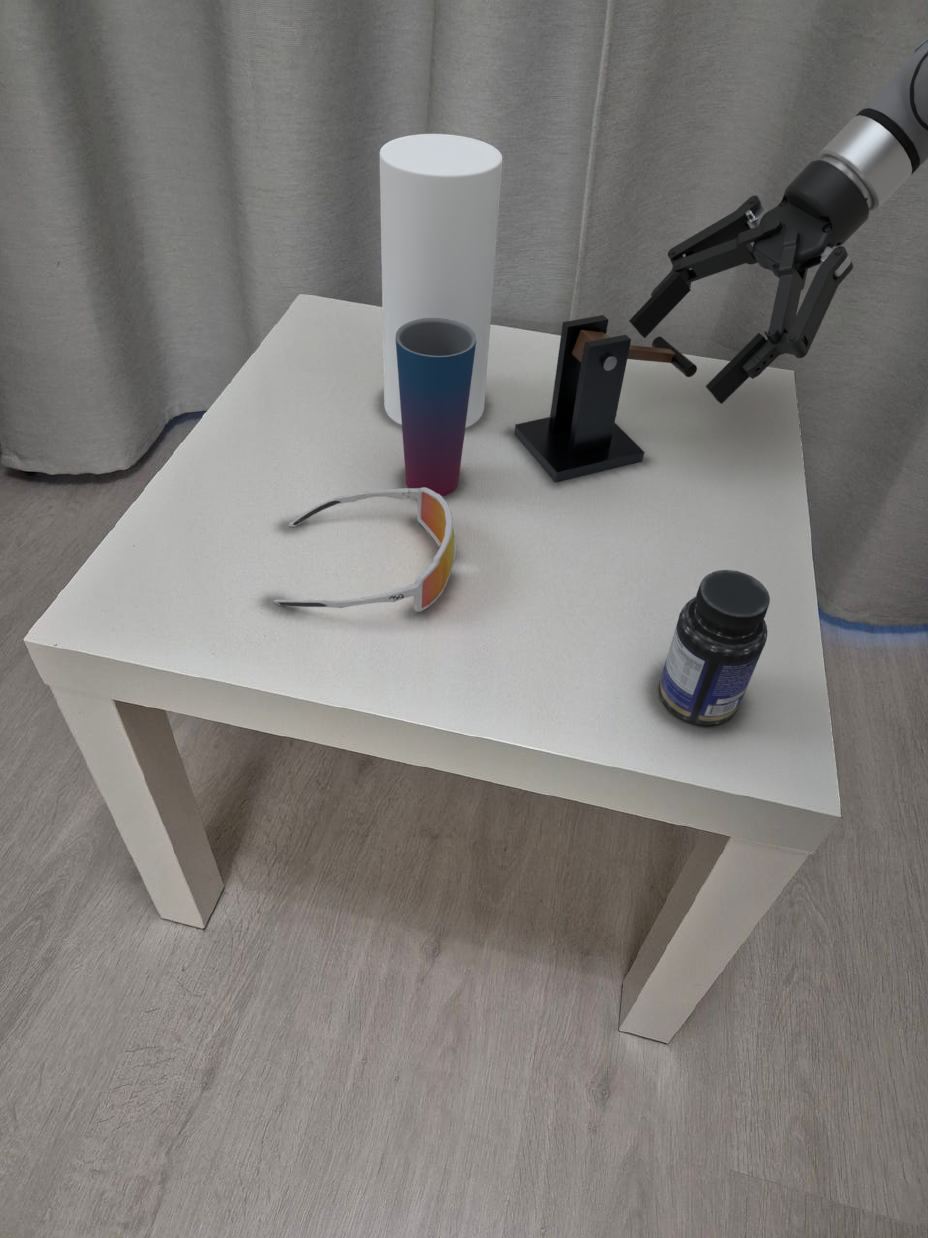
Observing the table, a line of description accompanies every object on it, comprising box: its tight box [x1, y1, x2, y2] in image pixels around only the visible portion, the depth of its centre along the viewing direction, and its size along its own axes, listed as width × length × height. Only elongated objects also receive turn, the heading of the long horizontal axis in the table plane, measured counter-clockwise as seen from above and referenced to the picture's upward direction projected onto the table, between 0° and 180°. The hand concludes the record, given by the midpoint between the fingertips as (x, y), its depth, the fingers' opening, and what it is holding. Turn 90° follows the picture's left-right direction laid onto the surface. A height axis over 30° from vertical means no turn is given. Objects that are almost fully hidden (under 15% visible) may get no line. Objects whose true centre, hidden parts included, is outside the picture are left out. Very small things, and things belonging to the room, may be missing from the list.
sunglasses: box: [273, 487, 458, 613], centre depth 74 cm, size 14×15×5 cm
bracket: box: [513, 314, 645, 483], centre depth 85 cm, size 10×9×13 cm
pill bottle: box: [658, 569, 771, 726], centre depth 63 cm, size 6×6×11 cm
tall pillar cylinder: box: [379, 133, 503, 429], centre depth 85 cm, size 11×11×25 cm
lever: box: [572, 330, 698, 378], centre depth 84 cm, size 12×6×2 cm, turn 114°
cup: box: [395, 318, 476, 497], centre depth 79 cm, size 7×7×15 cm
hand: (672, 361), depth 87 cm, fingers open, 13 cm apart
